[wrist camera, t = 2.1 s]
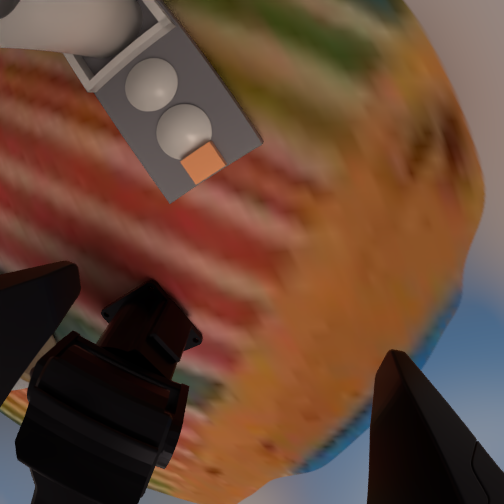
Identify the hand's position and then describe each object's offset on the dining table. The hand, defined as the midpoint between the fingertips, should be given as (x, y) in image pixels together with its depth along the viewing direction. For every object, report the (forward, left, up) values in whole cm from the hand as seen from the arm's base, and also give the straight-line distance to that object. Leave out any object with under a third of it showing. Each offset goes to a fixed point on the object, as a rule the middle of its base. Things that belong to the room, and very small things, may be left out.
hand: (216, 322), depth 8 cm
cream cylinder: (-1, +14, -11) cm, 18 cm away
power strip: (-1, +10, -13) cm, 16 cm away
